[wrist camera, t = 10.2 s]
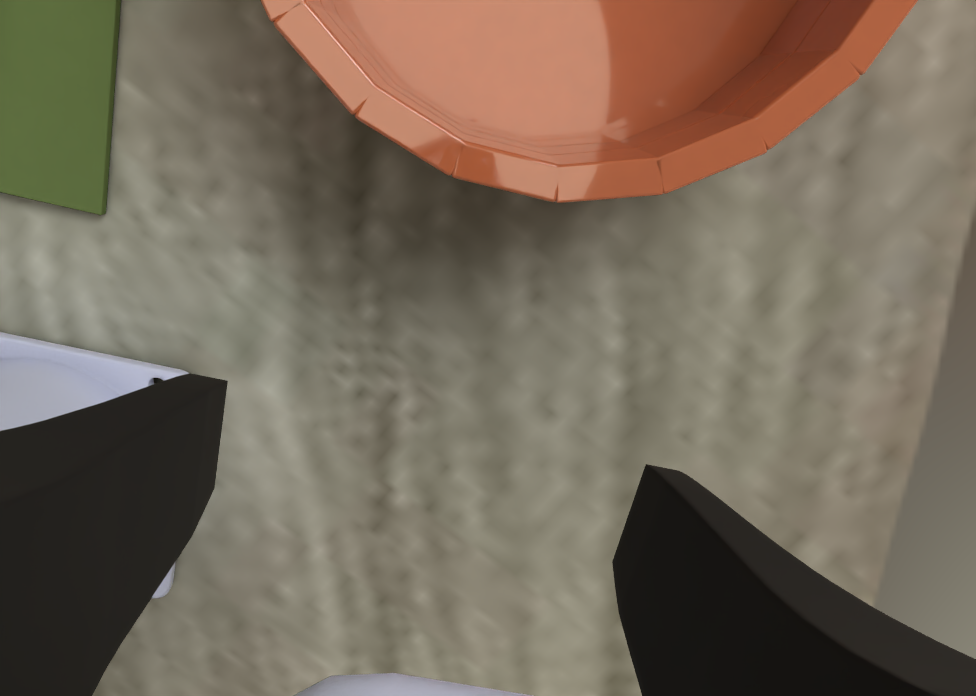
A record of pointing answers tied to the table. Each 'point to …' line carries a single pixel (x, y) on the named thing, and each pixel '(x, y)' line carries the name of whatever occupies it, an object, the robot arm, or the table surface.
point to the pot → (586, 82)
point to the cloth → (57, 100)
